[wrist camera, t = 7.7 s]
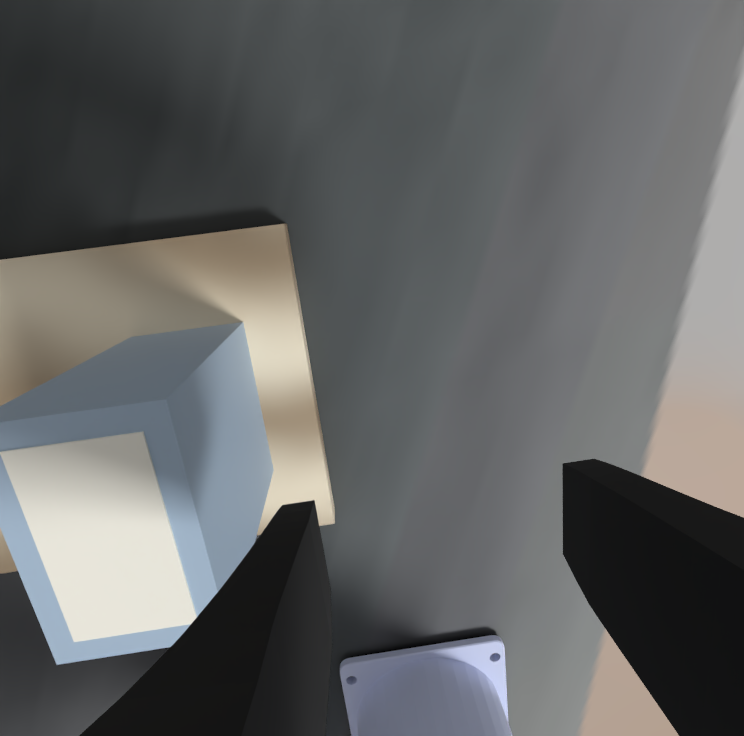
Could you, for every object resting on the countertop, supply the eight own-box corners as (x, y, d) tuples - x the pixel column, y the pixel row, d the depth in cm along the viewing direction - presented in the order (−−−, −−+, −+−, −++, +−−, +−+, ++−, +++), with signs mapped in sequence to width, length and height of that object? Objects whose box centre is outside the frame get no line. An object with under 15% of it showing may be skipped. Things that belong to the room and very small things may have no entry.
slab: (273, 469, 19) (229, 639, 11) (172, 484, 19) (55, 666, 11) (243, 322, 17) (165, 400, 9) (130, 336, 17) (-44, 429, 9)
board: (334, 509, 21) (334, 523, 20) (-40, 565, 20) (-59, 582, 19) (286, 223, 17) (283, 223, 16) (-169, 281, 16) (-200, 285, 16)
